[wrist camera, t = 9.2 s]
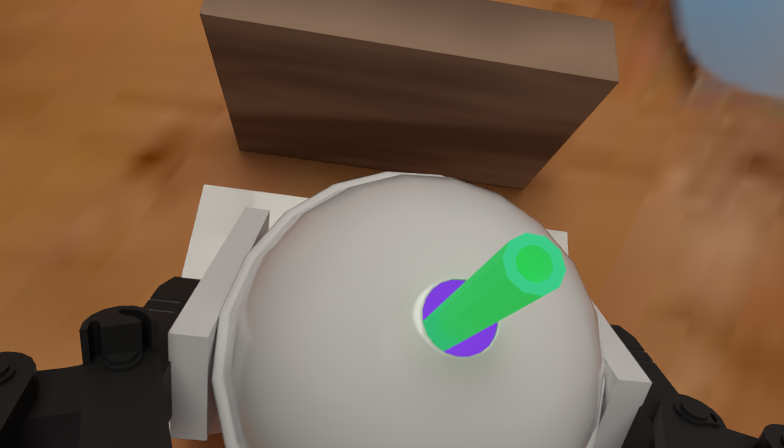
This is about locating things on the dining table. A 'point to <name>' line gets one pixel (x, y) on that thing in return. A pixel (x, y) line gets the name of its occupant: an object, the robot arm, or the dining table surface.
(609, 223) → the dining table surface
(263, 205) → the frame
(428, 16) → the backstop wall
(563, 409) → the smoothie
